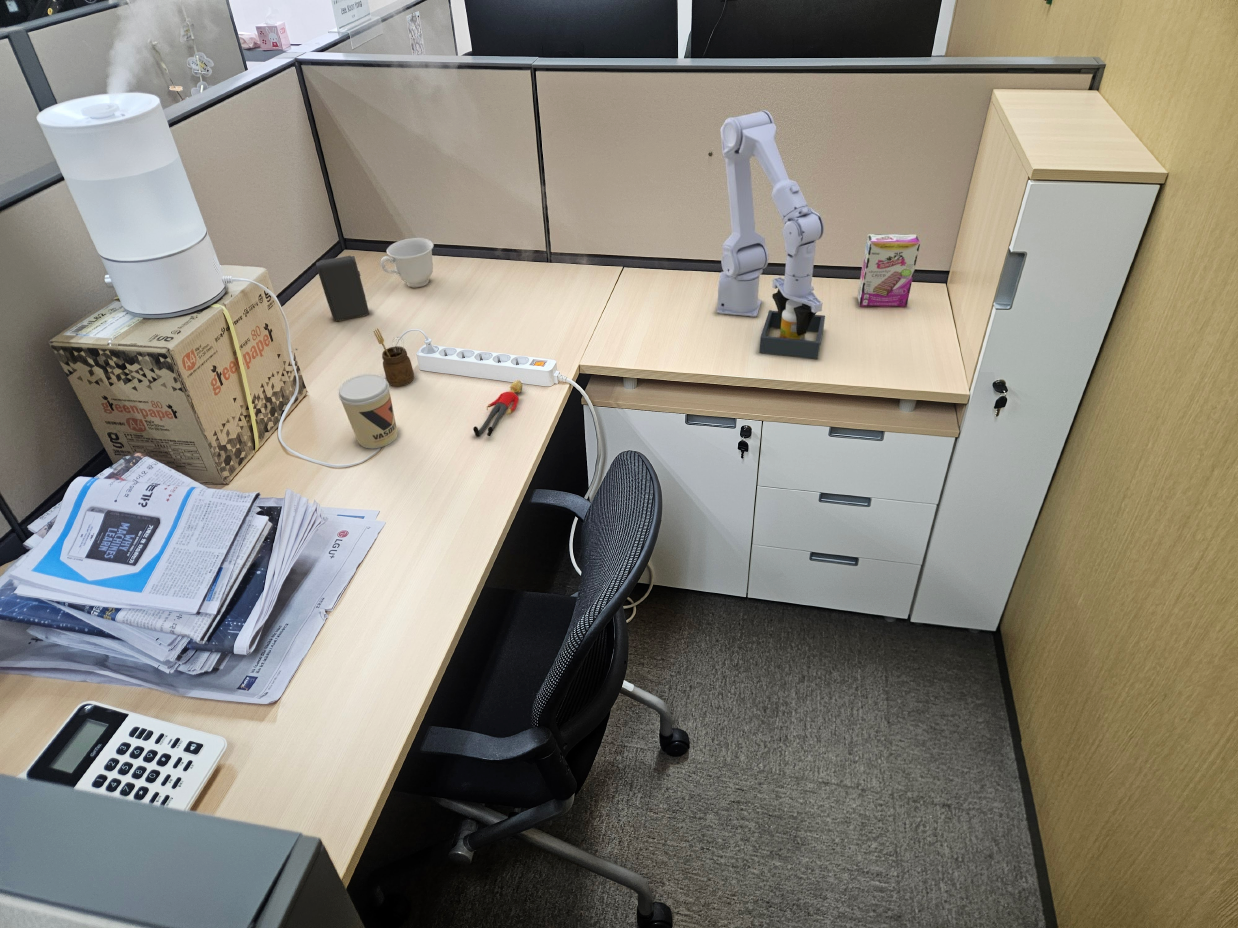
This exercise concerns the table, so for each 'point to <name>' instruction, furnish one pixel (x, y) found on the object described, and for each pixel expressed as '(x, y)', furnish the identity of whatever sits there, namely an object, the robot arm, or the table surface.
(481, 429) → the person figure
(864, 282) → the candy bar box
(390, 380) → the utensil holder
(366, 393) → the beige lidded canister
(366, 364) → the table surface
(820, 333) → the tray
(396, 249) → the teacup
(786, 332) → the supplement bottle
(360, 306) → the dark grey upright block
